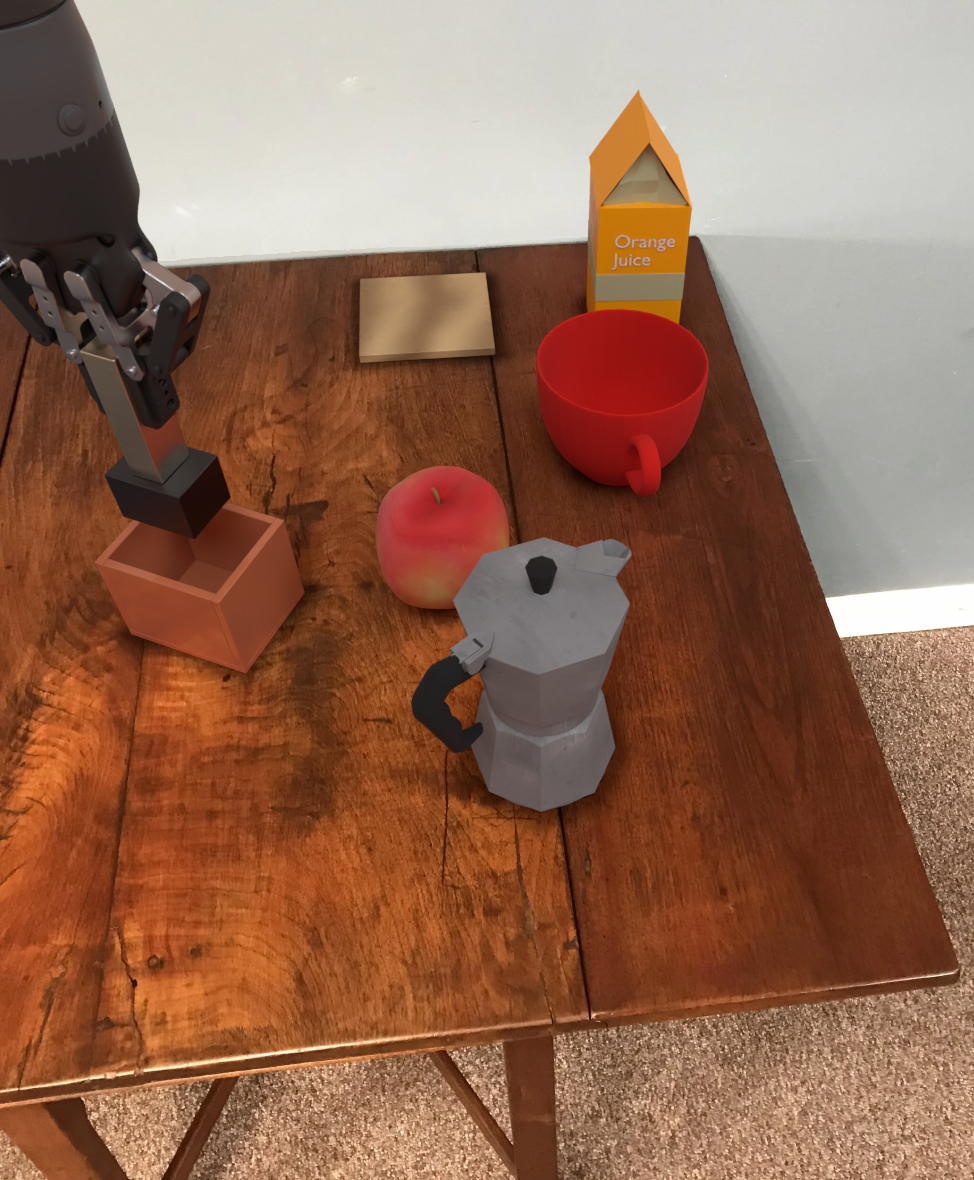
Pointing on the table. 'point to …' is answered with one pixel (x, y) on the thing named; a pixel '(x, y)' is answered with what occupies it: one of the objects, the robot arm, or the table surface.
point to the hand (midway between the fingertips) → (140, 412)
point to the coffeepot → (534, 669)
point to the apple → (437, 533)
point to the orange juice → (637, 218)
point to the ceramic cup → (621, 393)
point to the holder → (206, 585)
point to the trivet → (425, 317)
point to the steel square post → (154, 458)
